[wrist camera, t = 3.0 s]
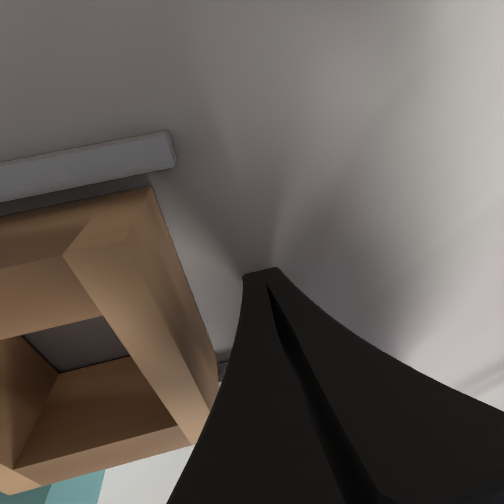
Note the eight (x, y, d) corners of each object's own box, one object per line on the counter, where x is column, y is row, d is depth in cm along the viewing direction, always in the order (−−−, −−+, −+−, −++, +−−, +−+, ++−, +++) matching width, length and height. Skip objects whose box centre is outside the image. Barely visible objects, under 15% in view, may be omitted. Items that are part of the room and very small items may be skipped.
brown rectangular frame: (216, 358, 13) (222, 436, 10) (53, 399, 12) (9, 495, 10) (150, 185, 8) (124, 241, 5) (-127, 242, 7) (-334, 342, 5)
